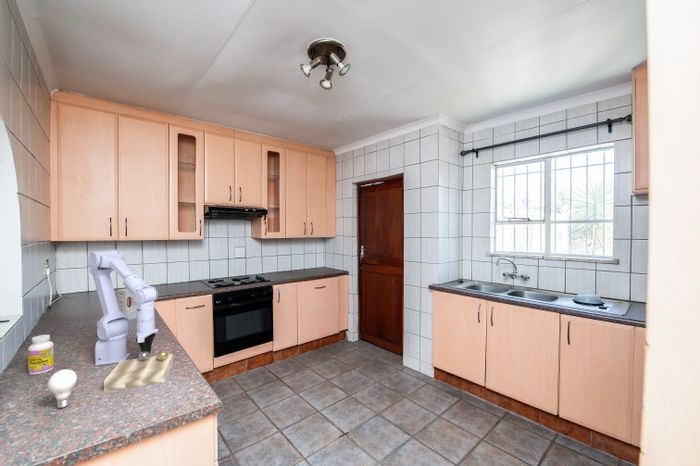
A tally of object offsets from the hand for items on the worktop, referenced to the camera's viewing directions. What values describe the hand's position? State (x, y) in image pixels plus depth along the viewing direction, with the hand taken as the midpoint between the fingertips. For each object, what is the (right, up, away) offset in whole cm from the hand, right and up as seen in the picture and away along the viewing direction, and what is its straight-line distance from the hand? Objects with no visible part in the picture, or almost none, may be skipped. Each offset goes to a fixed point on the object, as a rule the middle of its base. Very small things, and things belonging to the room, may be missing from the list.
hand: (146, 354), depth 118 cm
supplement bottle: (-36, -5, -4) cm, 36 cm away
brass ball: (+8, +1, -3) cm, 8 cm away
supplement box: (-50, -3, +61) cm, 79 cm away
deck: (+3, -5, -8) cm, 9 cm away
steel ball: (+1, +1, -3) cm, 4 cm away
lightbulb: (-7, -5, -26) cm, 28 cm away
